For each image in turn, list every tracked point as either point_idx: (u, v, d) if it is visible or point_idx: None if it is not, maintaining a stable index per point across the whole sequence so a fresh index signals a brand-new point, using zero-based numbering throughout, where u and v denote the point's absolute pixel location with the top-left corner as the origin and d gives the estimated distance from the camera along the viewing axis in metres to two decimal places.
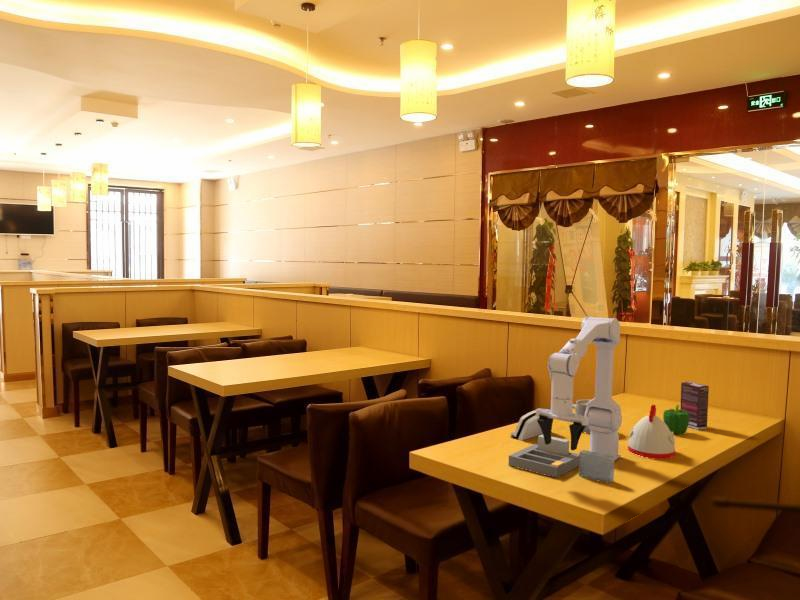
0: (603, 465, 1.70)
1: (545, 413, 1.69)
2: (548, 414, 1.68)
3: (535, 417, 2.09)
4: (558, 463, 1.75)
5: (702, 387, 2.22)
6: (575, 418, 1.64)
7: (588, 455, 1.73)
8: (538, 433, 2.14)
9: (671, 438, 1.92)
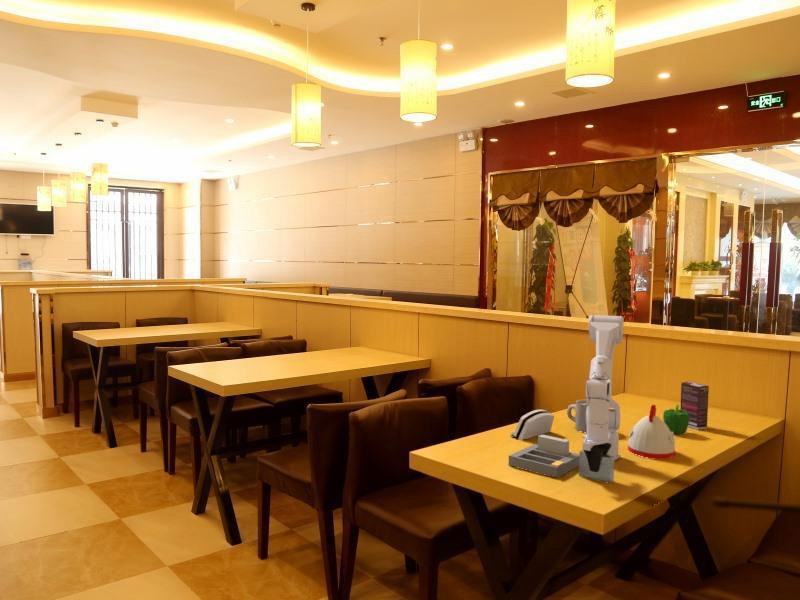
0: (603, 465, 1.70)
1: None
2: None
3: (535, 417, 2.09)
4: (558, 463, 1.75)
5: (702, 387, 2.22)
6: (584, 441, 1.69)
7: None
8: (538, 433, 2.14)
9: (671, 438, 1.92)
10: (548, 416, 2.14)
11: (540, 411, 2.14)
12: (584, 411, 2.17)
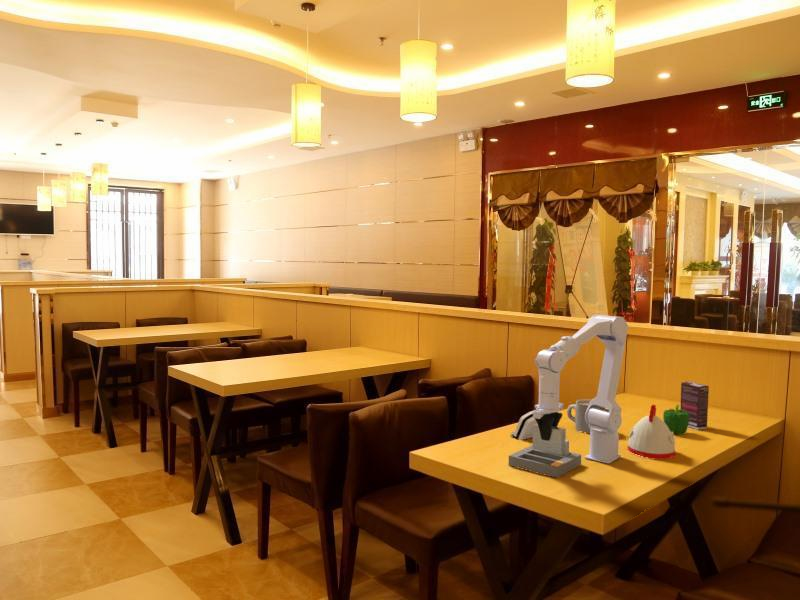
0: (555, 437, 1.75)
1: None
2: None
3: None
4: (558, 463, 1.75)
5: (702, 387, 2.22)
6: (535, 410, 1.75)
7: None
8: None
9: (671, 438, 1.92)
10: None
11: None
12: (584, 411, 2.17)
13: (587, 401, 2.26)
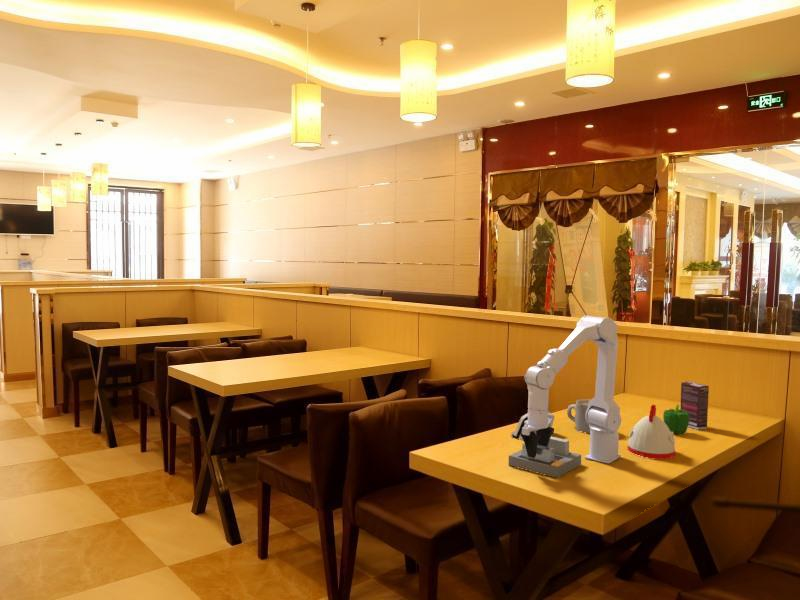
0: (543, 457, 1.77)
1: None
2: None
3: None
4: (558, 463, 1.75)
5: (702, 387, 2.22)
6: None
7: None
8: None
9: (671, 438, 1.92)
10: (548, 416, 2.14)
11: None
12: (584, 411, 2.17)
13: (587, 401, 2.26)
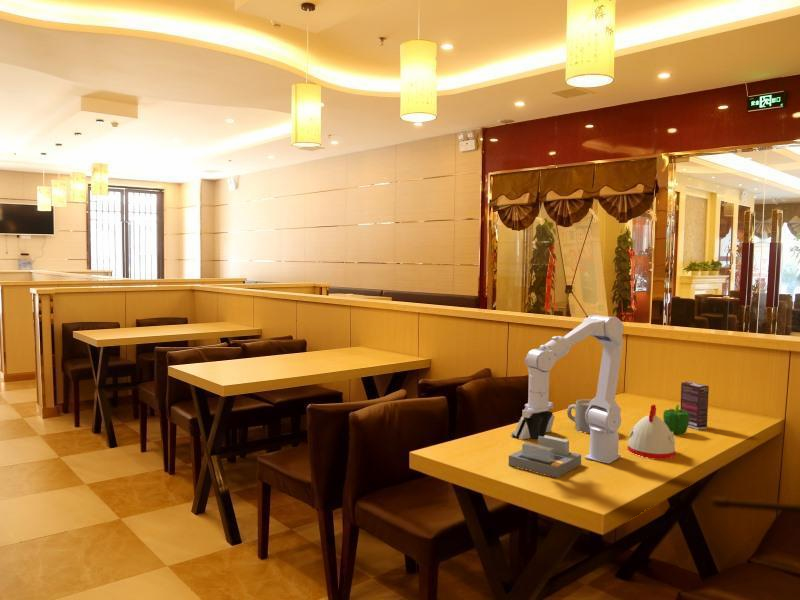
0: (543, 457, 1.77)
1: None
2: None
3: None
4: (558, 463, 1.75)
5: (702, 387, 2.22)
6: (525, 409, 1.76)
7: (530, 447, 1.79)
8: None
9: (671, 438, 1.92)
10: None
11: None
12: (584, 411, 2.17)
13: (587, 401, 2.26)
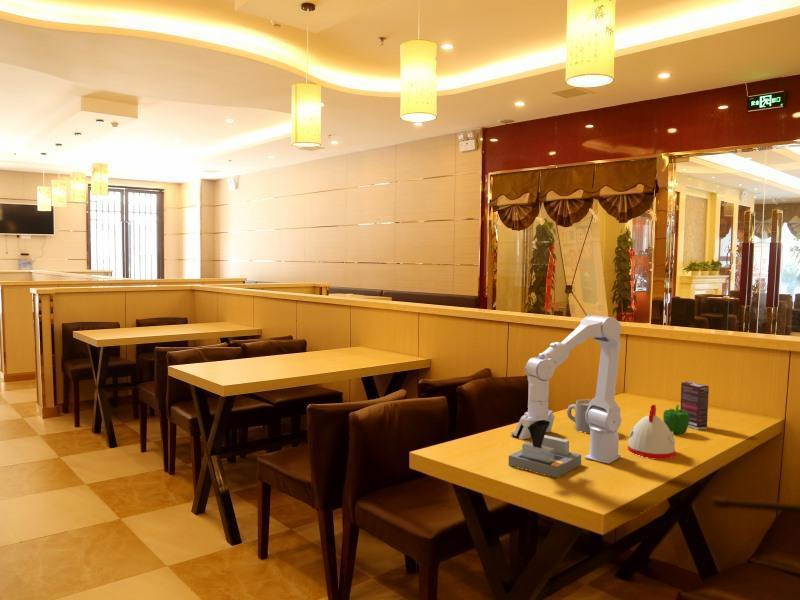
0: (543, 457, 1.77)
1: None
2: None
3: None
4: (558, 463, 1.75)
5: (702, 387, 2.22)
6: None
7: (530, 447, 1.79)
8: None
9: (671, 438, 1.92)
10: None
11: None
12: (584, 411, 2.17)
13: (587, 401, 2.26)
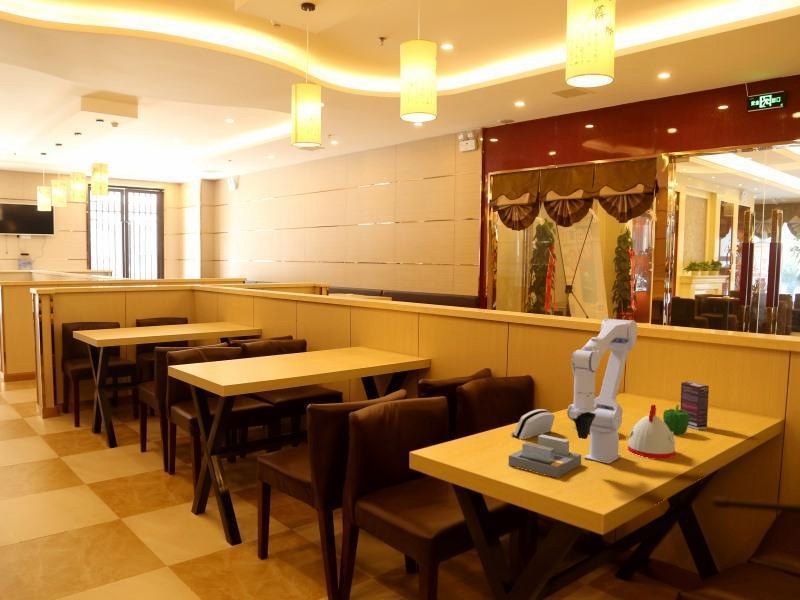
0: (543, 457, 1.77)
1: None
2: None
3: (536, 416, 2.10)
4: (558, 463, 1.75)
5: (702, 387, 2.22)
6: (571, 409, 1.76)
7: (530, 447, 1.79)
8: (539, 433, 2.15)
9: (671, 438, 1.92)
10: (548, 416, 2.14)
11: (540, 411, 2.15)
12: None
13: None
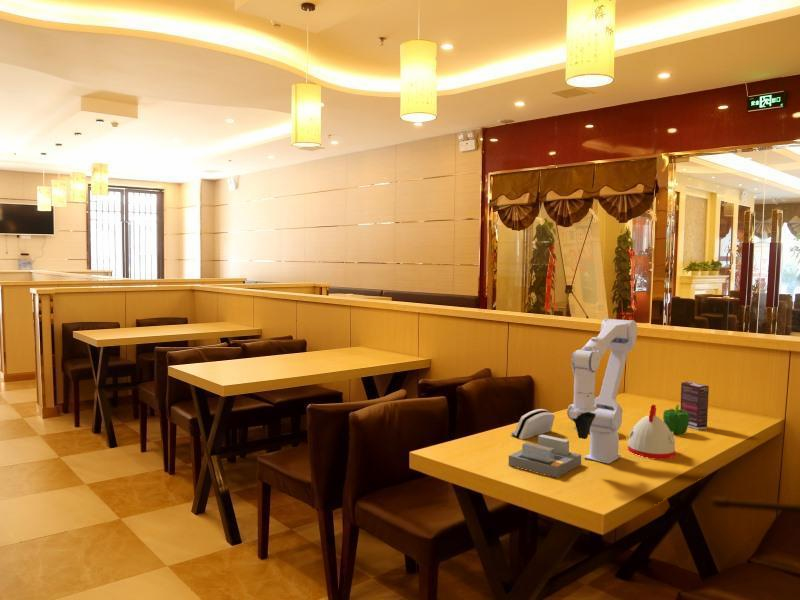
0: (543, 457, 1.77)
1: None
2: None
3: (535, 416, 2.10)
4: (558, 463, 1.75)
5: (702, 387, 2.22)
6: (571, 409, 1.76)
7: (530, 447, 1.79)
8: (539, 433, 2.15)
9: (671, 438, 1.92)
10: (548, 415, 2.15)
11: (540, 410, 2.15)
12: None
13: None
